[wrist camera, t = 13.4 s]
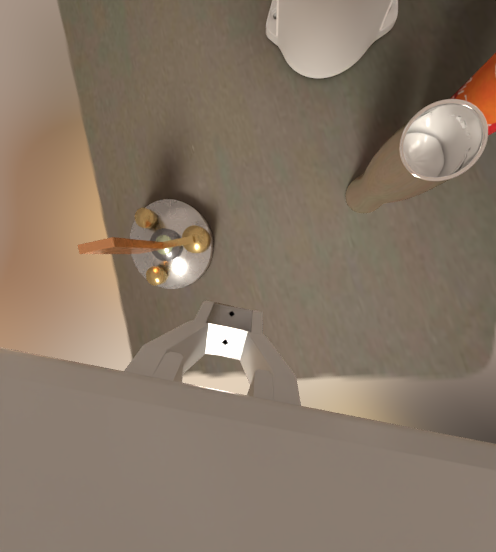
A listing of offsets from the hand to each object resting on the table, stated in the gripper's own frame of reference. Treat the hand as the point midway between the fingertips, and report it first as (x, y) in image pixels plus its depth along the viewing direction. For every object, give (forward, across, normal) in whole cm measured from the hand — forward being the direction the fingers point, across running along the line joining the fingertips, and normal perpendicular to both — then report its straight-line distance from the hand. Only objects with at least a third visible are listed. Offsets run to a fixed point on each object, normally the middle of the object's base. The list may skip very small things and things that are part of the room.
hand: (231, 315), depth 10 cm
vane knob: (+26, +14, +7) cm, 30 cm away
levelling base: (+27, +15, +8) cm, 32 cm away
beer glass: (+27, -17, -8) cm, 33 cm away
